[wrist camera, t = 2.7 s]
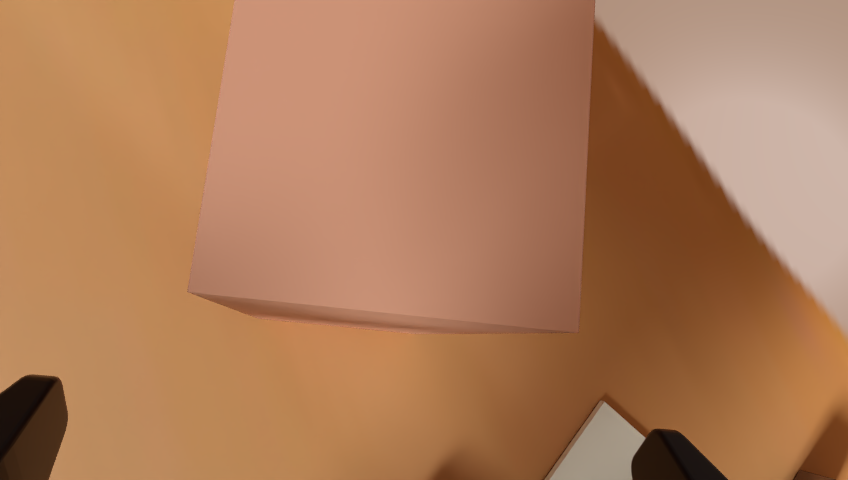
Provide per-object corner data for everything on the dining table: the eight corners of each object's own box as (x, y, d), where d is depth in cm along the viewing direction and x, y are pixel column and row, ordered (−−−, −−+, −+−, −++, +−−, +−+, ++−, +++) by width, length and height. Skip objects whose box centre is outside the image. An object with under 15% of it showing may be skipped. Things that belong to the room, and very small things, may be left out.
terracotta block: (257, 318, 19) (187, 291, 7) (280, 159, 20) (250, -96, 8) (414, 333, 20) (578, 332, 8) (428, 180, 21) (596, -20, 9)
